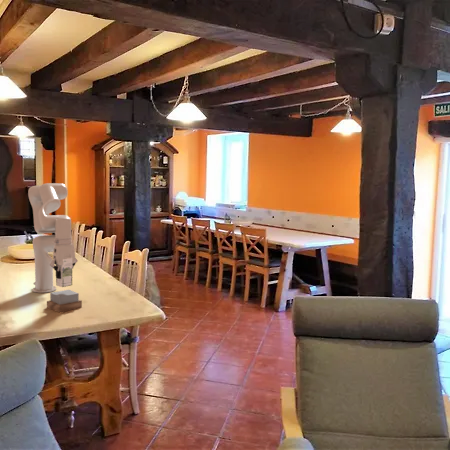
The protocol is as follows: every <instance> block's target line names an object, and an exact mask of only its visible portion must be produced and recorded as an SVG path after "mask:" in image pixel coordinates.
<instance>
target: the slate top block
mask: <svg viewBox="0 0 450 450" xmlns="http://www.w3.org/2000/svg"><path fill="white" fill-rule="evenodd" d="M49 294H50V300H49V301H53V302H55V303H57V304H59V305H61V304H67V303H72V302H77V301H79V300H80V299H79V293H78V292H76V291H73V290H71V289H66V290H65V289H64V290H59V291H52V292H49Z"/></svg>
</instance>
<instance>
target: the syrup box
mask: <svg viewBox="0 0 450 450" xmlns="http://www.w3.org/2000/svg"><path fill="white" fill-rule="evenodd" d="M60 271H61V279H58V278H56V277H55V279H56V280H55V282H56V283H55V284H56V286H57V287H60V288H66V287H72V286H73V269H72V258H67V259H63V265H61V268H60Z"/></svg>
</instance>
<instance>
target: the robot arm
mask: <svg viewBox="0 0 450 450" xmlns="http://www.w3.org/2000/svg"><path fill="white" fill-rule="evenodd" d="M27 195H28V199H29V202H30V205H31V208H32V214H33V226H34V231H35V232H36V233H38V234H47V235H39V236H35V237H33V239H32V248H33V253H34V254H33V255H34V276H35V277H34V278H35V280H34V282H33V285H34V287H33V288H32V292H34V293H37V294H38V293H39V294H40V293H41V294H44V293H52V292H56V290H57V287H56V286H54V271H55V279H56V278H58V279H61V271H60V268H61V265H63V259H67V258H72V270H73V269H74V267H75V266H76V264H77V263H78V259H77V258H76V252H75V247H74V243H72V242H73V241H72V219H71V217H69V215H67V214H57V215H56V214H55V215H53V214H52V215H50V214H51V213H53V212H55V211H57V210H59V209H60V207H61V204H62V203H61V200H65V199H66V198H67V197H68V195H69V194H68V187H67V186H66V185H65V184H64V183H60V182H59V183H57V182H56V183H55V182H53V183H52V182H51V183H50V182H47V183H43V184H41V185H40V184H39V185H33V186H31V187H29V188H28V193H27ZM51 233H52V234H51ZM53 233H54V234H53ZM49 234H51V235H49ZM49 253H53V254H52V256H51V255H50V254H49Z"/></svg>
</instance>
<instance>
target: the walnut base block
mask: <svg viewBox="0 0 450 450" xmlns="http://www.w3.org/2000/svg"><path fill="white" fill-rule="evenodd" d="M82 301H83V300H81V299H79V301H77V302H72V303H67V304H61V305H59V304H57V303H55V302H53V301H50V300H46V309H49V310H52V311H55V312H57V311H58V312H59V313H60V312H61V313H65V312H69V311H73V310H76V309H80V308H83V302H82Z"/></svg>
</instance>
